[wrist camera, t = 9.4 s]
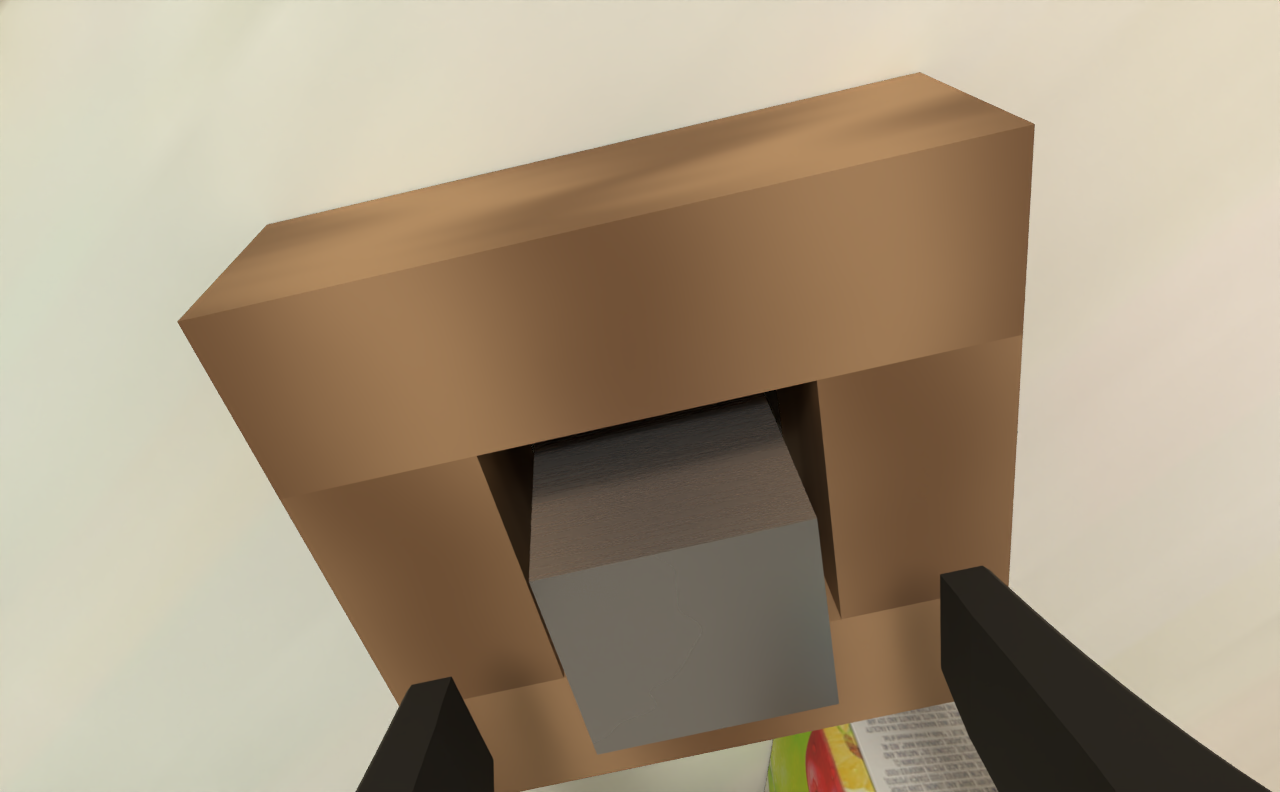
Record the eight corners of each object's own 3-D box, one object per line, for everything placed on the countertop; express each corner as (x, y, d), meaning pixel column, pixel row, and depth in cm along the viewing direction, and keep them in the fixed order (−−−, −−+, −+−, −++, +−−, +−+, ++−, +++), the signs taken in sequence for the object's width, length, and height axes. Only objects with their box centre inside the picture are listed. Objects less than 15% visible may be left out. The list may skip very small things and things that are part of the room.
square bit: (728, 311, 16) (816, 518, 11) (754, 464, 18) (838, 703, 13) (538, 354, 16) (529, 581, 11) (585, 501, 19) (596, 755, 13)
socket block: (919, 72, 14) (1035, 124, 11) (928, 560, 20) (1002, 691, 17) (266, 224, 14) (177, 321, 11) (473, 658, 21) (456, 804, 17)
